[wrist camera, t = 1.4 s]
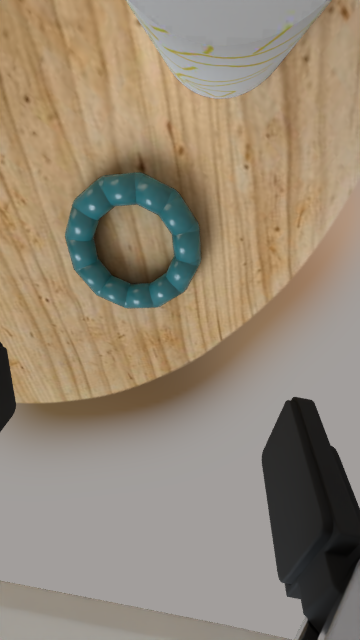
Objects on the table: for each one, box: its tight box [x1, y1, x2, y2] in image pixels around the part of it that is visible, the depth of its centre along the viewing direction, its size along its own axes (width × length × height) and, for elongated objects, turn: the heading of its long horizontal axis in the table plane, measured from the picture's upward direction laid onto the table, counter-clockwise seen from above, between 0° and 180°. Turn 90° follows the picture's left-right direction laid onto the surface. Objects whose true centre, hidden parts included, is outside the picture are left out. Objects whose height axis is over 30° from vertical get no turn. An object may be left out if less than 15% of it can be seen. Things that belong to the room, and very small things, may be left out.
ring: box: [65, 172, 201, 308], centre depth 23 cm, size 10×10×2 cm
